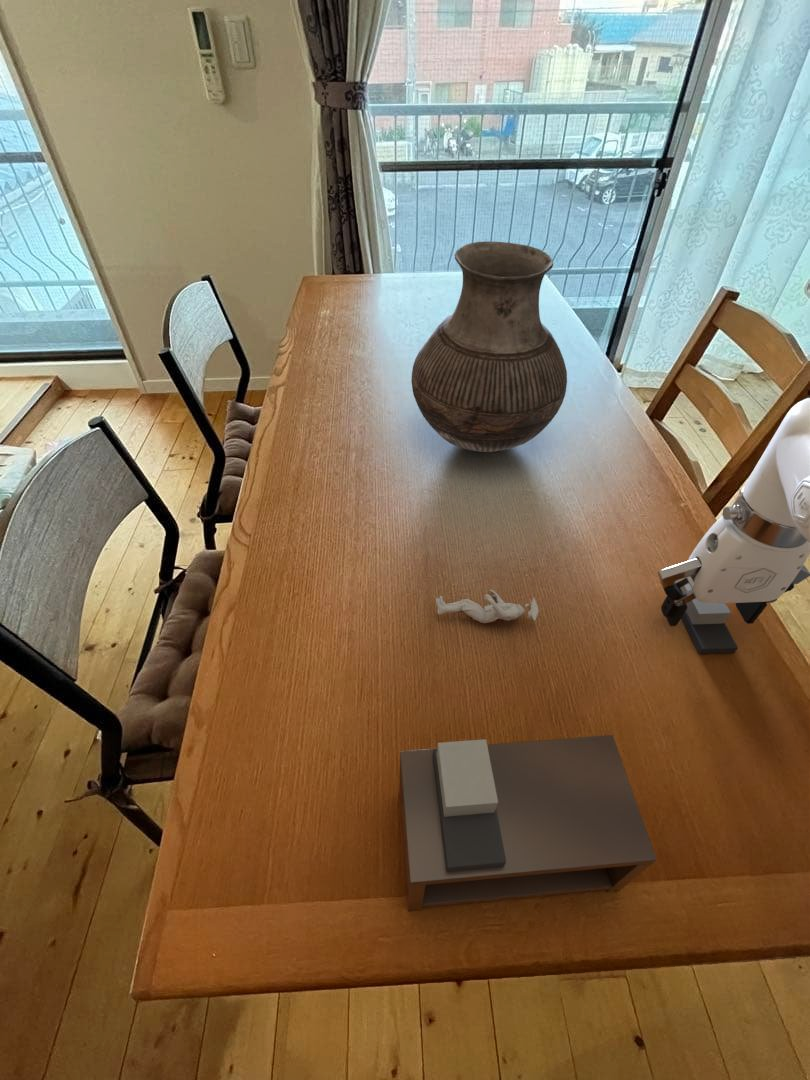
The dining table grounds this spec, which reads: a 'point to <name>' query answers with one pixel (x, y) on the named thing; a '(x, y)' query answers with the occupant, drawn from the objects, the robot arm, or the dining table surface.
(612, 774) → the shoe rack
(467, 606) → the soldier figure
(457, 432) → the vase
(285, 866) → the dining table surface
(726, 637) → the right slipper
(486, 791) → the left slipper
